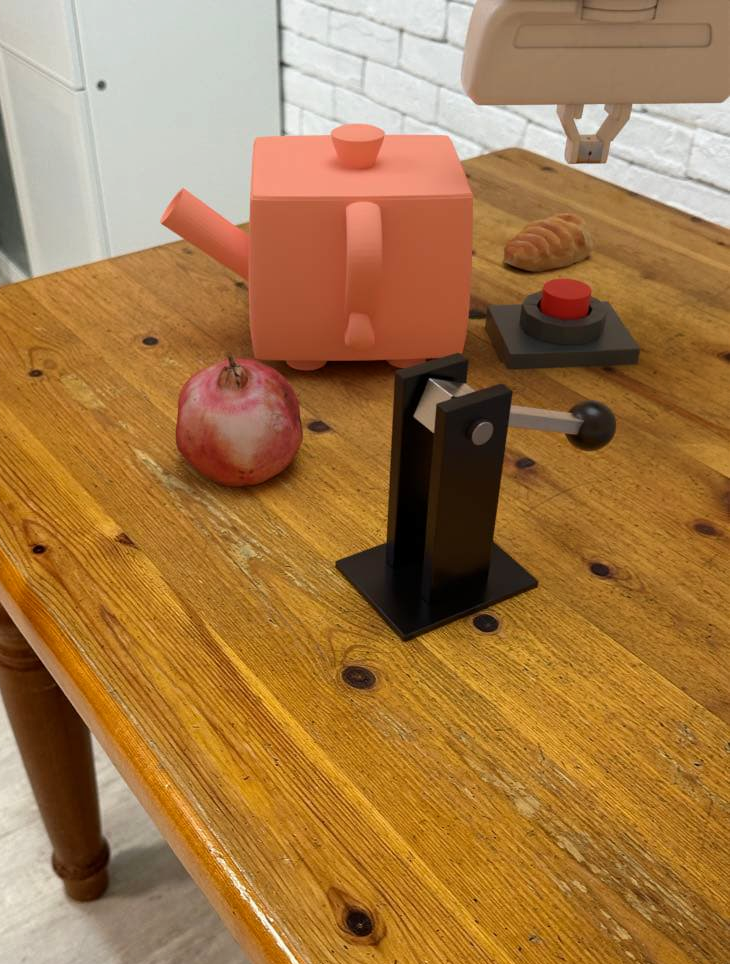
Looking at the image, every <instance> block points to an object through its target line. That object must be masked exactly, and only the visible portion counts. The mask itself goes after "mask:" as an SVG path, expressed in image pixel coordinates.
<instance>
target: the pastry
mask: <svg viewBox="0 0 730 964" xmlns="http://www.w3.org/2000/svg"><path fill="white" fill-rule="evenodd" d="M593 250H594V243H593V240H592V235H591V233H590V231H589V230H588V226H587V223H586V222H585V221H584V219H582V218H581V217H580V215H579V216H578V215H576V214H574V213H572V212H566V213H560V212H555V213H554V214H553V215H552V216H549V217H545V218H543V219H537V220H533V221H531V222H528V223H527V224H526V225H524V227H523V228H522V229H520V230H519V231H518V232H517V233H516V234H514V236H513V237H512V238H511V239H510V240H509V241H508V243H507V244H506V245H505V247H504V248H503V254H504V255H503V263H504V264H508V265H510V266H512V267H516V268H517V269H518V268H519V269H522V270H525V271H528V272H532V273H535V272H543V271H547V270H551V271H553V270H557V269H561V268H566V267H568V266H572V265H573V264H574V263H580V262H583V261H584V260H585V259H586V258H587V257H588V256H589V255H591V253H592V252H593Z"/></svg>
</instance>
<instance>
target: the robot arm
mask: <svg viewBox="0 0 730 964" xmlns="http://www.w3.org/2000/svg"><path fill="white" fill-rule="evenodd" d="M465 37H466V38H465V42H464V48H463V54H462V61H461V68H460V69H461V70H460V83H461V87H462V89H463V91H464V92H465V94H466V96H468V98H469V99H470V100H471V101H472V102H473V104H474V105H476V106H556V111H555V112H556V115H557V117H558V119H559V122H560V124H561V127H562V129H563V132H564V134H565V136H566V139H565V140H566V141H565V146H564V160H565V162H566V163H567V164H568V165H584V164H585V165H598V164H599V165H601V164H603V165H605V164H606V163H607V162H608V159H609V152H610V147H611V142H613V141H614V140H615V138H616V137H617V136H618V135H619V134H620V133H621V131H622V130H623V128H624V127H625V126H626V124H627V123H628V122H629V121H630V118H631V113H632V109H633V105H657V104H658V105H670V104H671V105H673V104H674V105H675V104H685V105H686V104H722V103H724V102H725V101H726V100H727V99H729V97H730V0H476V2H475V3H474V6H473V8H472V11H471V15H470V19H469V23H468V28H467V32H466V35H465ZM585 105H603V110H604V111H605V112H606V113H607V114H608V115H607V117H606V118H605V119H604V121H603V122H602V124H601V125H600V127H599V128H598V129H597V131H596V132H595V133H593V134H580V133H579V130H578V127H577V124H576V122H575V120H581V119H582V118H583V113H584V107H585Z"/></svg>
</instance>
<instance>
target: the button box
mask: <svg viewBox="0 0 730 964" xmlns="http://www.w3.org/2000/svg"><path fill="white" fill-rule="evenodd" d="M542 291H543V289H542V290H539V291H537V292H534V293H530V294H528V295H527V296H526V297H525V299H524V300H523V302H522V303H521V304H498V305H497V304H496V305H495V304H494V305H493V304H492V305H487V307H486V314H485V315H486V316H485V326H484V329H485V331H486V332H487V335H488V337H489V339H490V341H491V343H492V346H493V348H494V350H495V352H496V354H497V357H498V360H499V362H500V363H501V364H502V363H504V364H505V367H506V369H507V370H508V371H512V370H515V371H516V370H535V369H536V370H537V369H539V370H541V369H560V368H561V369H562V368H587V367H588V368H589V367H608V366H609V367H611V366H613V367H614V366H635V365H638V362H639V359H640V353H641V347H640V346H639V344H638V343H637V341H636V340H635V338H634V337H633V336H632V334H631V333H630V331H629V330H628V328H627V327H626V325H625V324H624V322H623V321H622V319H621V318H620V316H619V315H618V314H617V312H616V310H615V309H614V307H613V306H612V305H611V303H610V301H608V300H607V301H606V300H605V301H604V300H603V301H602V300H600V299H599V298H596V297H594V296H592V295H591V298H590V304H589V310H588V314H587V316H586V317H583V318H581V319H566V320H564V319H559V318H554V317H550V316H548V315H546V314H544V313H542V312H541V310H540V306H541V298H542Z"/></svg>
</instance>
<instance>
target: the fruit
mask: <svg viewBox="0 0 730 964" xmlns="http://www.w3.org/2000/svg"><path fill="white" fill-rule="evenodd" d="M226 354H227V357H226V358H223V359H222V360H219V361H216V362H213V363H211V364H209V365H207V366H205V367H204V368H202V369H200V370H197V371H195V372H194V373H193V374H192V375H191V376H190V377H189V378H188V379H187V380H186V382H185V383H184V385H182V387H181V389H180V391H179V393H178V400H177V417H176V424H175V443H176V444H175V445H176V448H177V450H178V451H179V453H180V454H181V455H182V457H183V458H184V460H185V461H186V462H187V463H188V464H189V465H191V466H192V467H193V468H194V469H195V470H196V471H197V472H198V473H200V474H201V475H202V476H204V477H206V478H208V480H210V481H212V482H213V483H216V484H218V485H220V486H224V487H232V488H239V487H246V486H247V487H249V486H256V485H259V484H261V483H263V482H265V481H267V480H269V479H271V478H273V477H275V476H276V475H278V474H280V473H281V472H283V471H284V470H285V469H286V468H287V467H288V466H289V465H290V464H291V463H292V462H293V461H294V460H295V458H296V457H297V454H298V452H299V450H300V448H301V445H302V443H303V439H304V430H303V426H302V425H303V424H302V419H301V410H300V401H299V397H298V396H297V394H296V391H295V389H294V388H293V386H292V385H291V384H290V382H289V381H288V380H287V378H285V377H284V376H283V374H281V373H280V372H279V371H278V370H277V369H275V368H273V367H272V366H269V365H267V364H265V363H263V362H261V361H259V360H258V359H255V358H251V357H248V356H247V357H246V356H233V355H232V353H231V351H227V352H226Z"/></svg>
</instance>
